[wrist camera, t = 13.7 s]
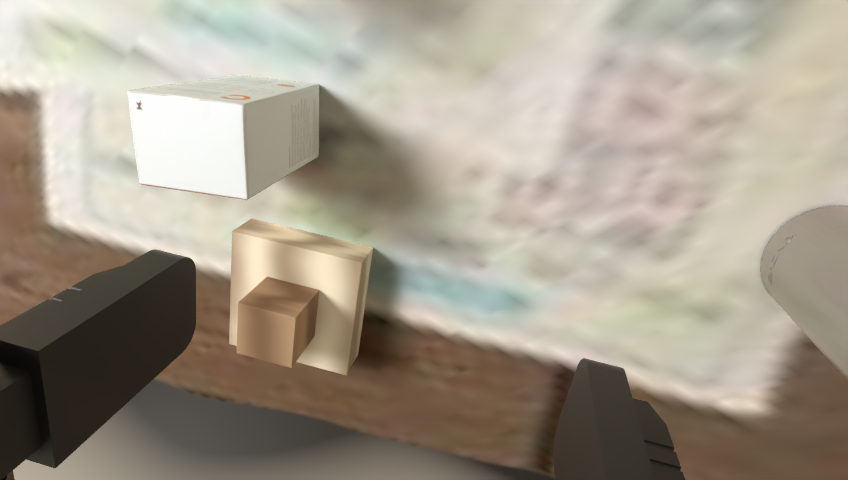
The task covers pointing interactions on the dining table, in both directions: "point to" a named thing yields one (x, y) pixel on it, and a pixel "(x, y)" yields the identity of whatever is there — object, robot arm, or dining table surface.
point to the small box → (224, 133)
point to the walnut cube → (277, 321)
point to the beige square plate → (307, 284)
